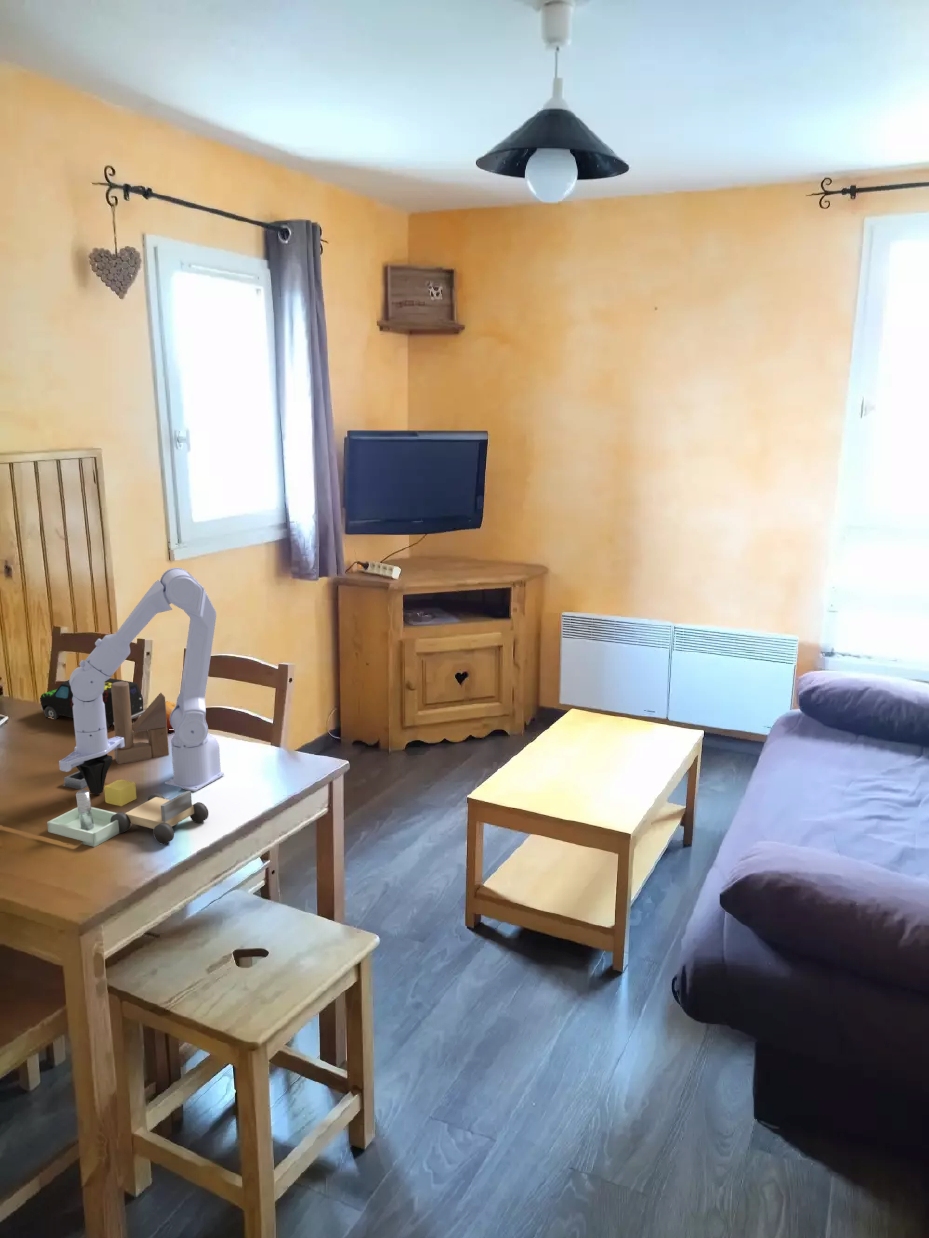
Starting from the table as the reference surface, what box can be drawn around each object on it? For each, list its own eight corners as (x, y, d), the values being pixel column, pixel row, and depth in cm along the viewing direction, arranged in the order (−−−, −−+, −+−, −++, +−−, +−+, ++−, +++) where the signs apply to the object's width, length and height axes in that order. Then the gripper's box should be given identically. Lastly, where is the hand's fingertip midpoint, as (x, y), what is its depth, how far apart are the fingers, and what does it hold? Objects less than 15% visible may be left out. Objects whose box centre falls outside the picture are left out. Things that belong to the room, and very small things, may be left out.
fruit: (142, 720, 215) (158, 692, 214) (172, 734, 218) (188, 706, 217) (141, 732, 207) (157, 702, 207) (172, 745, 210) (189, 716, 210)
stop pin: (88, 823, 163) (83, 789, 161) (96, 826, 162) (91, 791, 160) (78, 829, 161) (73, 794, 159) (86, 831, 160) (81, 796, 158)
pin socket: (82, 779, 184) (81, 769, 183) (100, 783, 182) (99, 773, 182) (62, 788, 180) (61, 777, 179) (81, 792, 178) (80, 782, 177)
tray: (83, 816, 167) (82, 804, 166) (128, 828, 163) (127, 815, 162) (48, 834, 160) (47, 821, 159) (94, 846, 156) (93, 833, 155)
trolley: (152, 808, 171) (149, 777, 169) (208, 822, 165) (207, 790, 164) (111, 831, 161) (108, 798, 160) (170, 846, 156) (167, 812, 155)
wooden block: (169, 757, 196) (164, 679, 192) (118, 767, 190) (111, 687, 186) (165, 752, 199) (160, 675, 195) (115, 761, 193) (108, 682, 189)
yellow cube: (121, 797, 176) (119, 779, 175) (136, 801, 174) (135, 782, 173) (105, 805, 172) (104, 786, 171) (121, 809, 170) (119, 790, 170)
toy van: (72, 705, 230) (69, 668, 228) (147, 718, 221) (144, 680, 219) (39, 717, 221) (35, 679, 219) (115, 732, 211) (112, 692, 209)
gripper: (103, 713, 180) (109, 775, 183) (44, 736, 167) (51, 803, 170) (130, 718, 177) (135, 781, 181) (72, 742, 164) (79, 809, 168)
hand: (96, 792), depth 175 cm, fingers closed
